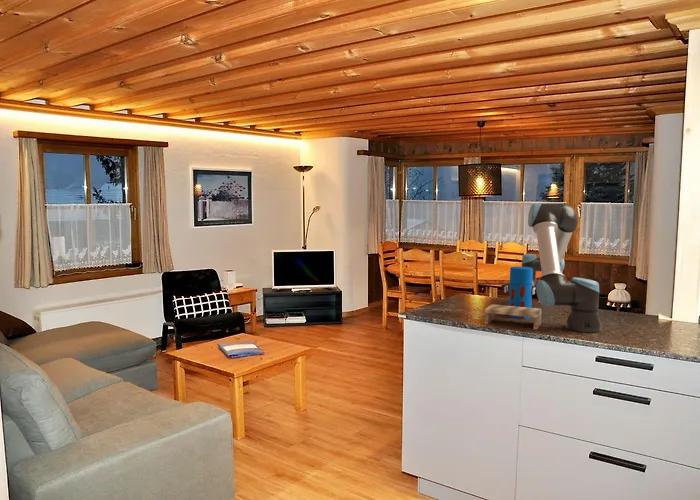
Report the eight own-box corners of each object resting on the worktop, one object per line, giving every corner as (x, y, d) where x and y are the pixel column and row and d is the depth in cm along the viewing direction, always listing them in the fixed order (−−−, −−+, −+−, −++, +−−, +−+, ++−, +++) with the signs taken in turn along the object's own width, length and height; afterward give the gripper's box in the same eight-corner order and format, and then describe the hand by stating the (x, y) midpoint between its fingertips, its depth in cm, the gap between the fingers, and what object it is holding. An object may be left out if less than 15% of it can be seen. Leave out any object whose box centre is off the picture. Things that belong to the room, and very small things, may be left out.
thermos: (532, 319, 275) (534, 269, 272) (510, 318, 276) (511, 269, 274) (528, 314, 285) (530, 266, 283) (507, 314, 287) (509, 266, 285)
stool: (540, 323, 267) (541, 308, 266) (536, 329, 255) (537, 314, 254) (490, 318, 278) (491, 304, 277) (484, 323, 265) (484, 309, 264)
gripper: (549, 293, 293) (544, 300, 274) (501, 289, 304) (493, 296, 285) (550, 279, 292) (545, 285, 273) (502, 276, 303) (493, 281, 284)
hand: (518, 290), depth 279 cm, fingers open, 13 cm apart
